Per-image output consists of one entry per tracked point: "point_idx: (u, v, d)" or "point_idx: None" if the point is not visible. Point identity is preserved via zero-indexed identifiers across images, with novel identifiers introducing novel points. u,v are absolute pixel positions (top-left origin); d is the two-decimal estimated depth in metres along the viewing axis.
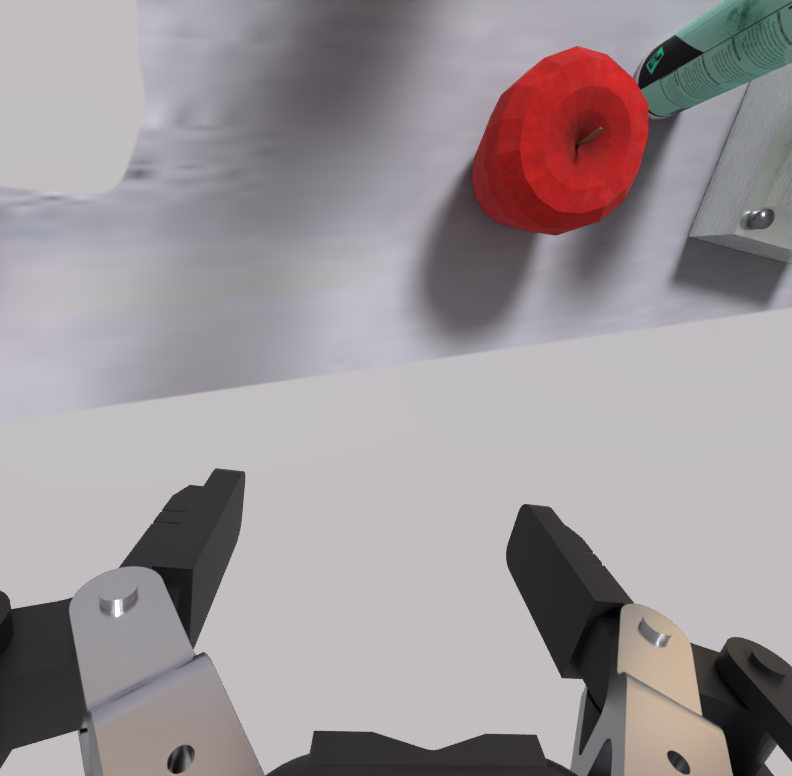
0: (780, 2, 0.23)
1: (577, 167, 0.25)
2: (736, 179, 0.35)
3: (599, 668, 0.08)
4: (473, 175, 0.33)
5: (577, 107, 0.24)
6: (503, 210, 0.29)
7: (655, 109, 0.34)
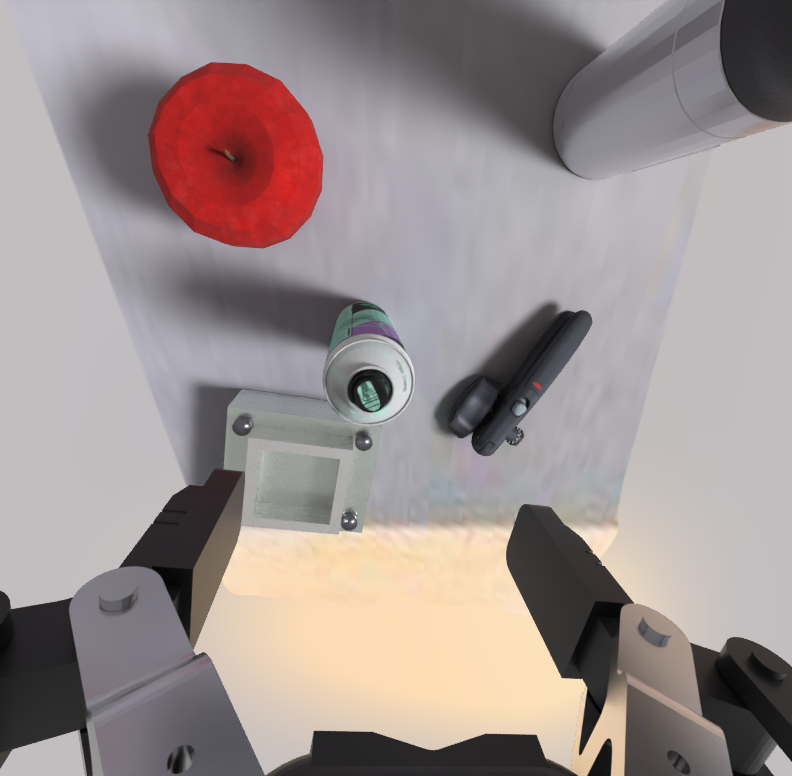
0: (356, 324, 0.27)
1: (202, 151, 0.23)
2: (285, 405, 0.38)
3: (600, 668, 0.08)
4: None
5: (254, 138, 0.23)
6: None
7: (337, 320, 0.38)
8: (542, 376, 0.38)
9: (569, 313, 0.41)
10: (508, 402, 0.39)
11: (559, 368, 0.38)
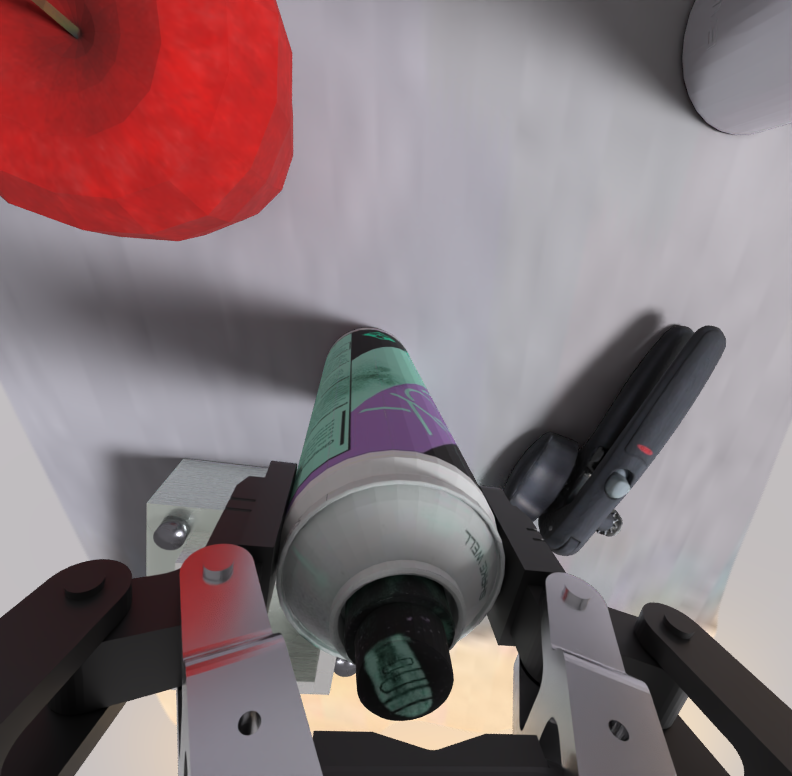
0: (358, 400, 0.13)
1: None
2: None
3: (527, 633, 0.09)
4: None
5: None
6: None
7: (327, 357, 0.24)
8: (653, 435, 0.24)
9: (679, 329, 0.26)
10: (598, 477, 0.25)
11: (678, 420, 0.24)
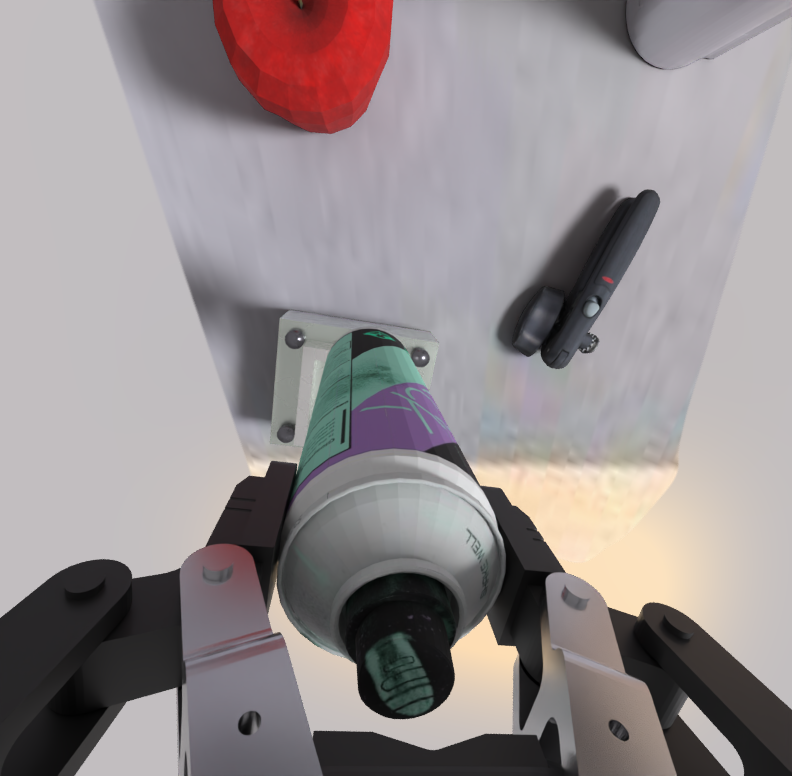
0: (359, 398, 0.13)
1: None
2: (336, 322, 0.37)
3: (527, 632, 0.09)
4: None
5: None
6: None
7: (327, 357, 0.24)
8: (612, 268, 0.35)
9: (630, 199, 0.37)
10: (577, 304, 0.36)
11: (630, 257, 0.35)
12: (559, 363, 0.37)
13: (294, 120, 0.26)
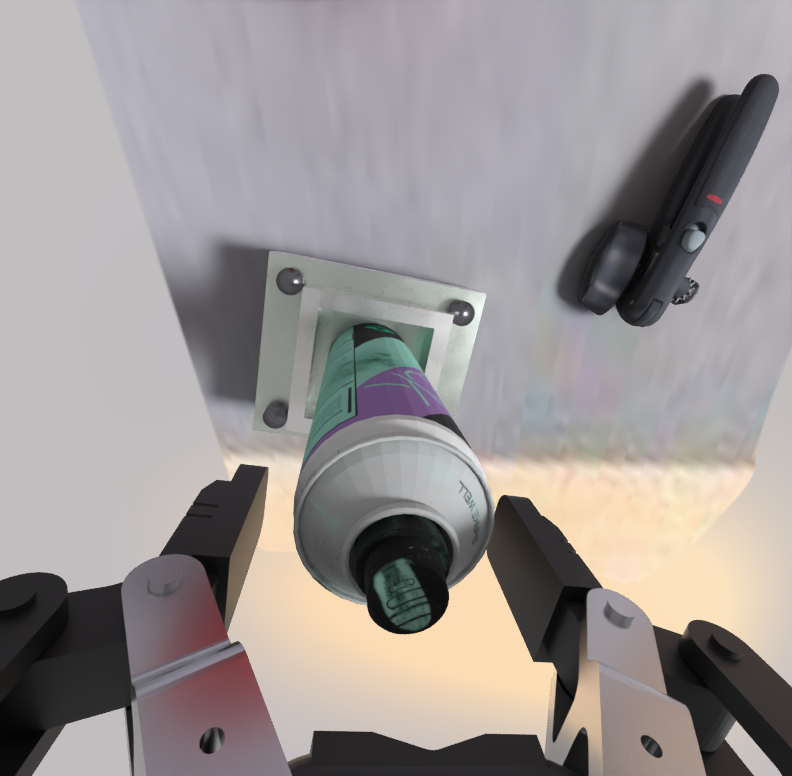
0: (363, 378, 0.14)
1: None
2: (346, 265, 0.27)
3: (567, 650, 0.08)
4: None
5: None
6: None
7: (330, 349, 0.25)
8: (720, 183, 0.26)
9: (730, 96, 0.28)
10: (672, 237, 0.27)
11: (742, 166, 0.26)
12: (649, 318, 0.28)
13: None
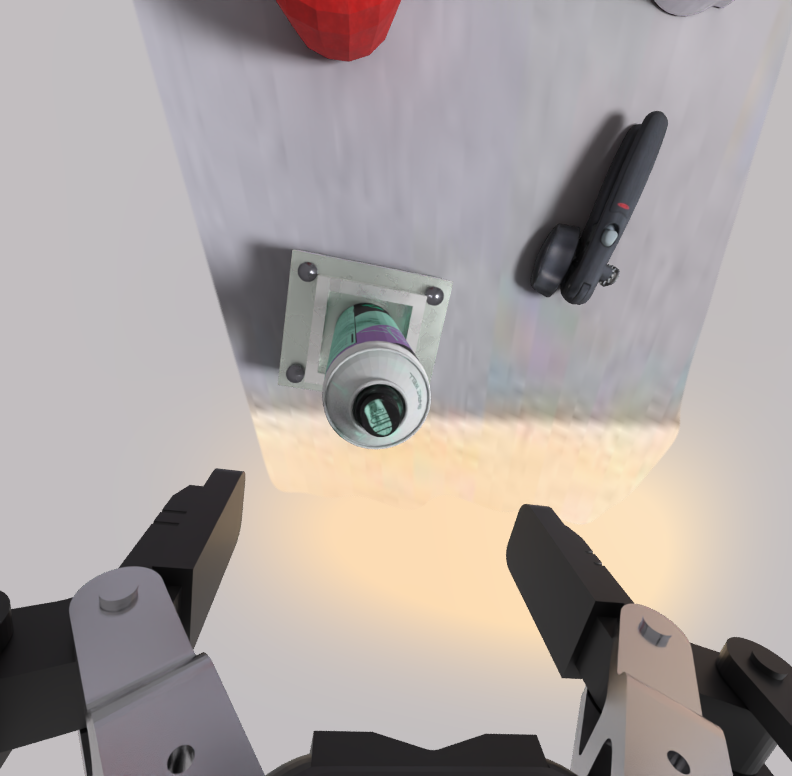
0: (360, 329, 0.23)
1: None
2: (348, 260, 0.36)
3: (600, 668, 0.08)
4: None
5: None
6: None
7: (336, 322, 0.34)
8: (627, 194, 0.35)
9: (636, 126, 0.37)
10: (595, 235, 0.36)
11: (643, 181, 0.35)
12: (582, 297, 0.37)
13: (318, 27, 0.26)
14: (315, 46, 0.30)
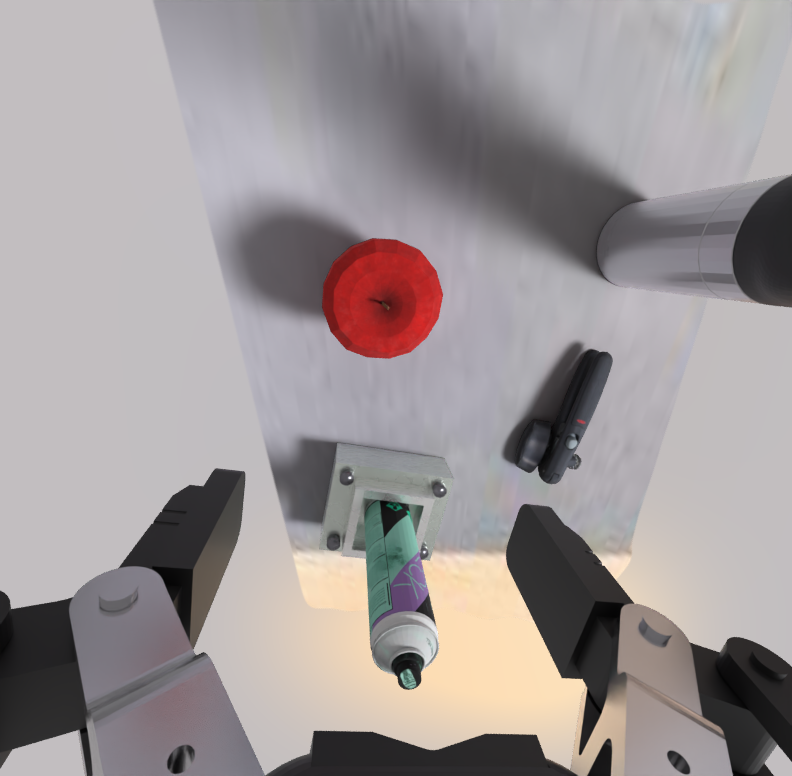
0: (391, 577, 0.35)
1: (365, 301, 0.33)
2: (375, 458, 0.48)
3: (600, 668, 0.08)
4: None
5: (403, 294, 0.33)
6: (338, 257, 0.35)
7: (366, 513, 0.46)
8: (583, 413, 0.47)
9: (591, 352, 0.49)
10: (561, 439, 0.48)
11: (595, 403, 0.47)
12: (553, 482, 0.49)
13: None
14: None
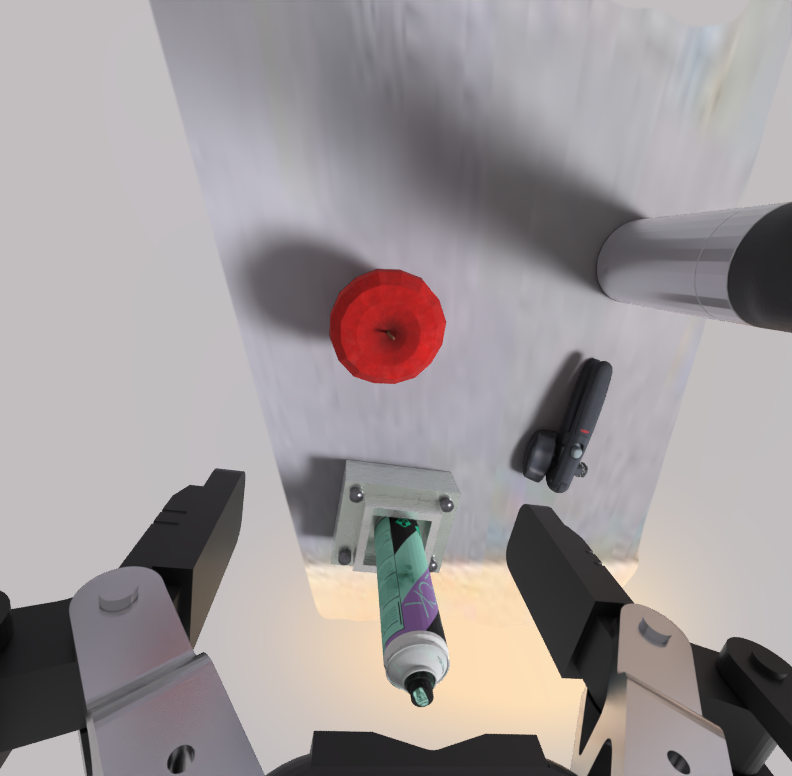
0: (402, 595, 0.36)
1: (371, 331, 0.34)
2: (384, 475, 0.49)
3: (599, 667, 0.08)
4: None
5: (408, 323, 0.34)
6: (344, 288, 0.36)
7: (376, 529, 0.47)
8: (586, 423, 0.48)
9: (591, 362, 0.49)
10: (566, 449, 0.49)
11: (598, 412, 0.48)
12: (561, 491, 0.50)
13: None
14: None
